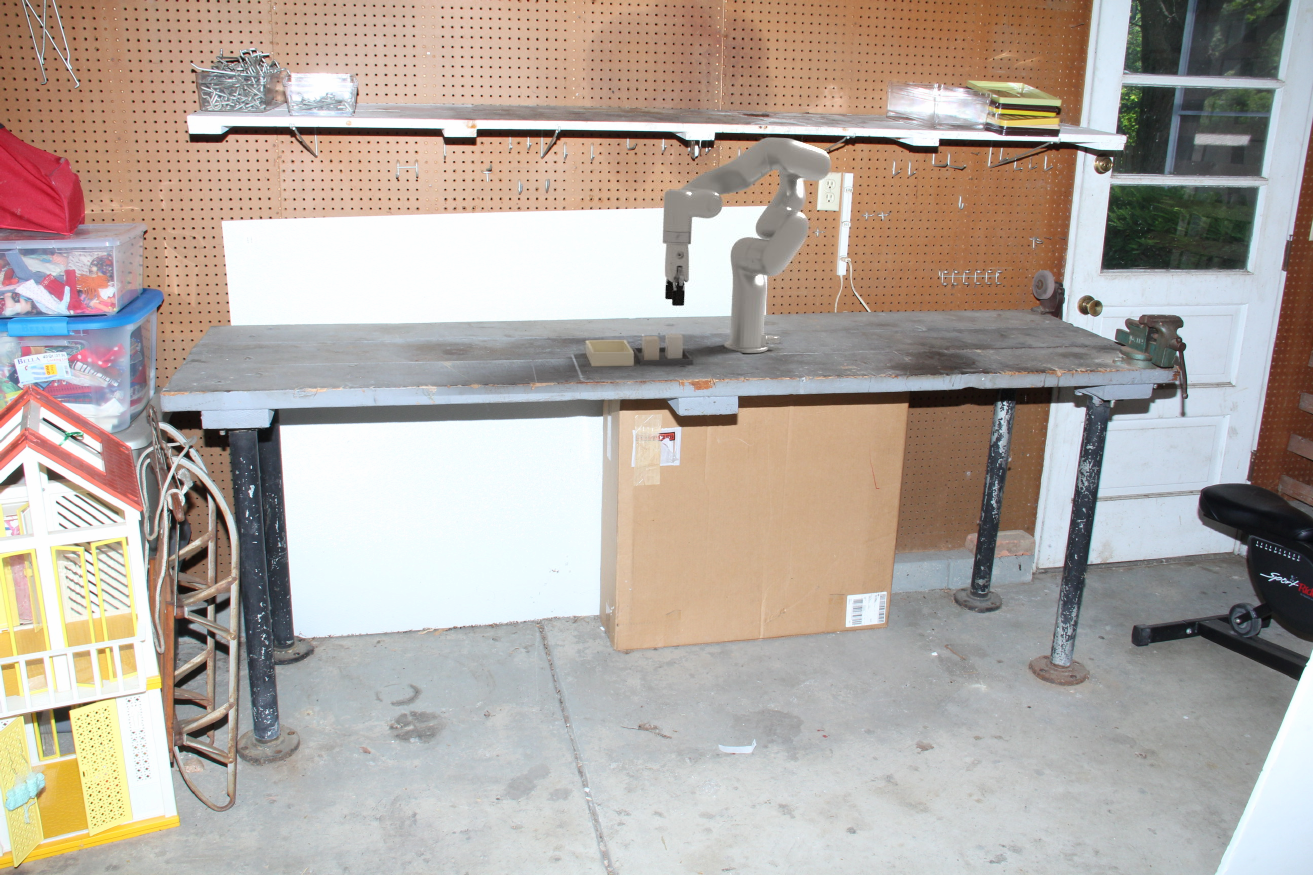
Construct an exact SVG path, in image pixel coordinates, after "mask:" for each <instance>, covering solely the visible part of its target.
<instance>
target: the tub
mask: <svg viewBox="0 0 1313 875" xmlns="http://www.w3.org/2000/svg"><path fill="white" fill-rule="evenodd" d="M585 354H586V357H587V359H588V361H589V363H590V365H591V367H628V366H631V367H633V366H635V365H634V364H635V363H634V359H635V356H634V352H633V350H632V347H631V346H630V345H629V343H628V342H627V340H626V339H614V340H613V339H609V340H608V339H607V340H603V339H602V340H599V339H598V340H585Z"/></svg>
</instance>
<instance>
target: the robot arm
mask: <svg viewBox="0 0 1313 875" xmlns="http://www.w3.org/2000/svg"><path fill="white" fill-rule="evenodd" d="M831 168H832V159H831V158H830V155H829V154H828V153H827V152H826V151H825V150H824V149H821V148H818V147H816V146H813V145H811V144H807V143H804V142H802V141H799V140H795V139H793V138H787V137H786V138H785V137H765V138H763V139H760V140H759V141H758V142H756V143H755V144H753V145H752V146H750V147H749V148H748V149H746V150H745V151H744V152H743V153H741V154H739V155H738V156H736V158H734V159H733V160H731V161H729V162H727V163H725V164H722V165H720V166H718V167H715V168H713V169H710V170H708V171H706V172H703V173H702V174H700V175H697V176H696V177H695V178H693V179H692V180H690V181H689V182H687V183H686V184H685V185H683V186H682V187H681V188H680V189H677V188H676V189H667V190H666V191H665V192H664V195H663V219H662V220H663V222H662V228H663V229H662V244H665V258H664V276H665V278H666V280H665V287H664V288H665V289H664V291H665V292H664V294H665V295H664V297H665V299H664V300H671V305H672V306H674V307H677V306H678V307H682V306H683V307H684V306H685V291H686V290H685V288H686V286H685V283H688V282H689V280H690V264H689V263H690V256H689V255H690V254H689V253H690V252H689V245H691V244H692V231H693V230H692V228H693V226H692V225H693V218H699V219H712V218H715V217H717V216H718V215H719V214H720V213H721V211H722V208H723V205H724V204H723V199H722V197H721V196H722V195H726V194H734V193H739V192H743V191H745V190H748V189H749V188H751V187H752V186H753V185H755V184H756V183H757V182H759V181H760V180H761V179H763V178H764V177H766V176H767V175H768V174H769V173H771V172H773V171H778V177H779V186H778V190H777V191H776V193H775V194H774V196H773V198H772V199H771V201H770V202H769V204H768V205H767V206H766V207H765V209H764V210H763V212H762V213H761V214H760V216H759V218H758V219H757V222H756V224H755V234H757V236H758V237H759V238H758V237H753V236H752V237H751V236H748V237H741V238H739V239H738V240H737V241H735V242H734V243H733V245H732V248H731V250H730V264H731V265H730V266H731V271H732V272H731V274H732V293H731V314H730V333H729V334H730V335H729V340H728V341H726V342H725V343H724V344H723V345H724V348H725V349H728V350H731V351H737V352H739V353H743V354H757V353H764V352H766V351H768V349H769V345H768V344H770V343H772V344H777V343H780V341H781V340H780V336H779V335H772V334H771V335H769V334H768V335H767V333H765V331H764V330H765V329H764V328H765V316H766V315H765V314H766V313H765V312H766V298H767V297H766V296H767V284H766V283H767V282H766V279H765V276H766V277H776V276H778V275H779V274H781V273H782V272H783V271H784V270H786V268H787V267H788V266H789V264H790V263H791V261H792V260H793V259H794V257H795V256H796V254H797V253H798V251H799V250H800V248H802V246H803V244H804V243H805V241H806V240H807V237H808V234H809V229H810V224H809V220H808V217H807V216H806V215H805V214H804V213H803V212H802V209H803V208H804V206H805V204H806V197H807V195H806V188H805V181H810V182H811V181H812V182H818V181H821V180H823V179H824V180H825V178H827V176H828V175H829V173H830V172H831Z"/></svg>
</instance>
